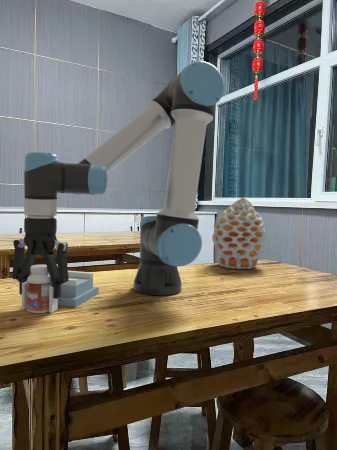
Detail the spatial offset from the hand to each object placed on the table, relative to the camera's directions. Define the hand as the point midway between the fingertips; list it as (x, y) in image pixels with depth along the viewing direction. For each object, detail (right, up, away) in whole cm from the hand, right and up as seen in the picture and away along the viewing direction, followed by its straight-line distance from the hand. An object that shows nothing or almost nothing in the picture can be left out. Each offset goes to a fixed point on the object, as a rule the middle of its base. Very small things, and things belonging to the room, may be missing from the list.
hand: (39, 309), depth 91 cm
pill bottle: (0, 0, 0) cm, 1 cm away
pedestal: (+4, 0, +12) cm, 12 cm away
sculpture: (+61, +3, +66) cm, 91 cm away
